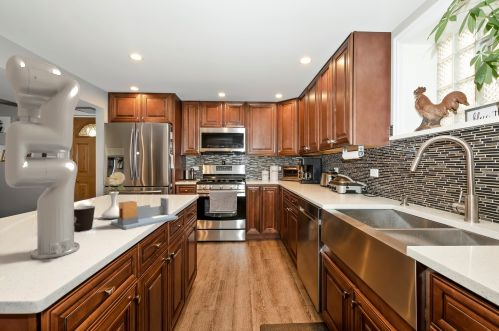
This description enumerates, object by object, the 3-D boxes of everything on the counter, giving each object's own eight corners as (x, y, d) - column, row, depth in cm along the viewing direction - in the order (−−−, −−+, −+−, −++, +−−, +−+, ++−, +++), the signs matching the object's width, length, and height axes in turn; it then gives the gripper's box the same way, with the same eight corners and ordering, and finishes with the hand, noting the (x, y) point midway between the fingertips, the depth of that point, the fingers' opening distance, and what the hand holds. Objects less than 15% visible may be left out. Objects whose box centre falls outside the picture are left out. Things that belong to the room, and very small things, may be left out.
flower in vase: (96, 219, 124) (96, 172, 124) (114, 214, 135) (113, 171, 135) (116, 221, 121) (116, 172, 120) (132, 216, 132) (132, 171, 131)
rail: (178, 218, 126) (178, 199, 126) (126, 229, 105) (125, 206, 105) (161, 214, 136) (161, 196, 136) (111, 223, 115) (111, 203, 115)
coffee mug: (95, 230, 104) (95, 207, 104) (70, 233, 99) (70, 210, 99) (94, 224, 114) (94, 204, 113) (72, 227, 109) (72, 205, 109)
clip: (136, 216, 112) (136, 202, 112) (123, 218, 108) (123, 203, 108) (131, 215, 116) (131, 200, 116) (118, 217, 111) (118, 202, 111)
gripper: (2, 118, 98) (3, 159, 98) (55, 123, 111) (55, 159, 111) (0, 120, 102) (0, 159, 102) (51, 125, 116) (51, 159, 116)
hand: (29, 159), depth 107 cm, fingers open, 9 cm apart
